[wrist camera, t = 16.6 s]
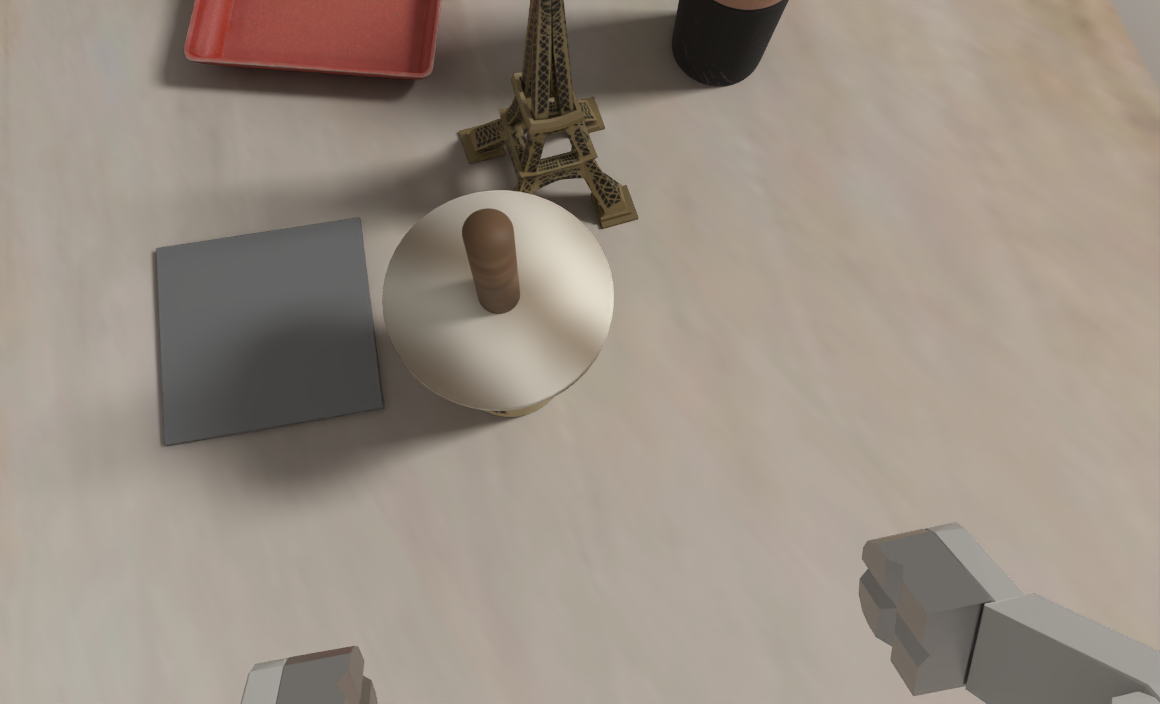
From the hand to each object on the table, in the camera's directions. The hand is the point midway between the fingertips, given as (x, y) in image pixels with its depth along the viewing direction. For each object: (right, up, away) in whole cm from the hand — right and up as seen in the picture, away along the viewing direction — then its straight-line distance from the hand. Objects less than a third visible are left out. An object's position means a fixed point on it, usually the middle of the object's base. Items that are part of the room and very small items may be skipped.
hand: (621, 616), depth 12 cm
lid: (-5, +7, +28) cm, 30 cm away
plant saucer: (-20, +32, +48) cm, 61 cm away
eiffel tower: (-3, +17, +44) cm, 48 cm away
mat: (-22, +6, +40) cm, 46 cm away
